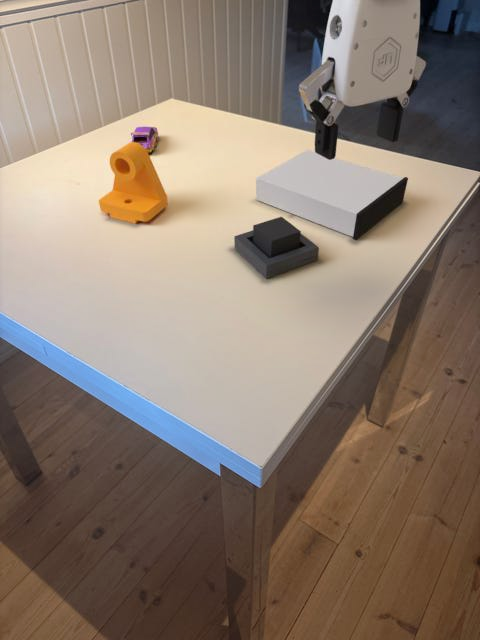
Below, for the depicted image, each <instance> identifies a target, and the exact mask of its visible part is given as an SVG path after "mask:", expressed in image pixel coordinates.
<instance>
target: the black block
mask: <svg viewBox="0 0 480 640" xmlns="http://www.w3.org/2000/svg"><path fill="white" fill-rule="evenodd" d="M252 230H253V244H254V245H255V246H256V247H257V248H258V249H259V250H261V251H262V252H263V253H264V254H265V255H266V256H267V257H268V258H269V259H270V258H273V257H275V256H278V255H281V254H284V253H287V252H290V251H293V250H296V249H299V247H300V234H302V233H301V232H302V231H301V230H299V229H298V228H297V227H296V226H295V225H293V224H292V223H291V222H290V221H288V220H287V219H286V218H284V217H283V216H279V217H275V218H273V219H270V220H266V221H262V222H260V223H256V224H253V225H252Z"/></svg>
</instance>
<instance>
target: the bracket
mask: <svg viewBox="0 0 480 640" xmlns="http://www.w3.org/2000/svg"><path fill="white" fill-rule="evenodd" d="M149 154H150V153H148V152H147V151H146V149H145V148H144V147H143V146H142V145H141V144H139V143H136V142H132V141H131V142H129V143H127V144H125V145H123V146H122V147H120V148H119V149H117V150H116V151H114V152H112V153H111V155H110V156H109V166H110V169H111V171H112V173H113V174H114V179H113V186H112V190H110V191H109V192H108V193H107V194H105V195H104V196H102V197H101V198H99V199H98V204H99V205H98V206H99V209H100V211H101V212H102V213H106V214H109V217H110V218H111V219H116V220H119V221H123V222H126V223H127V222H128V223H131V224H137V223H138V222H139V221H140V222H143V223H145V222H150V221H151V220H152V219H153V218H154V217H155V216H157V214H159V213H160V212H161V211H163V210H164V209H165V208H166V207H168V205H169V202H168V195H167V193H166V191H165V189H164V186H163V184H162V181H161V179H160V177H159V175H158V172H157V170H156V168H155V165H154V163H153V161H152V159H151V156H150V155H149Z"/></svg>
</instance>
